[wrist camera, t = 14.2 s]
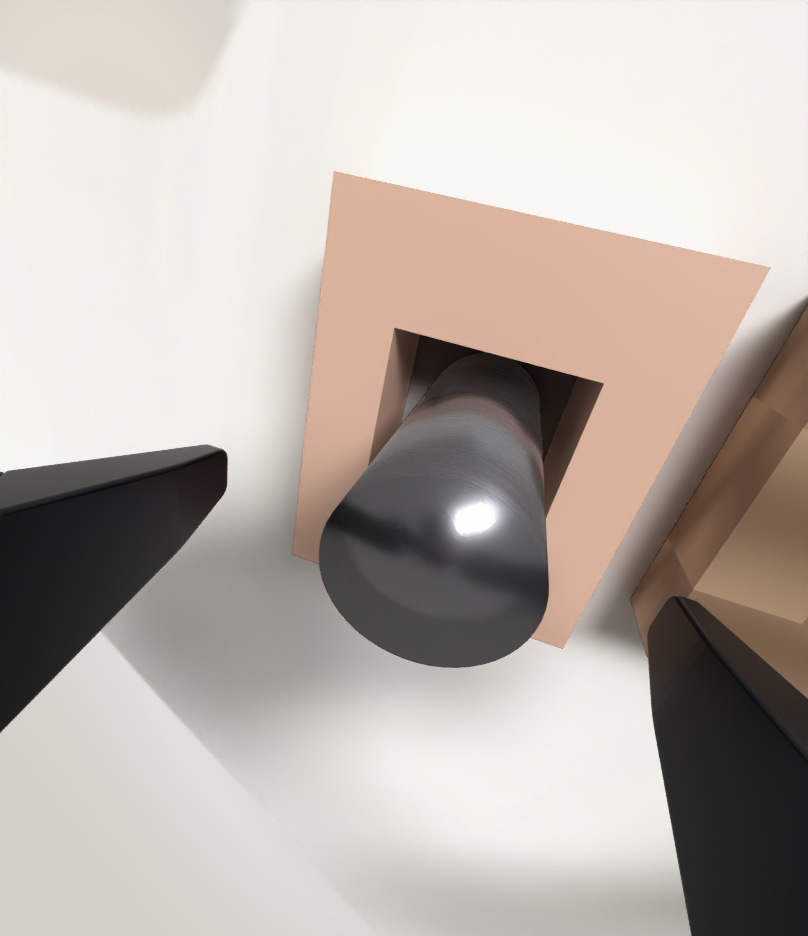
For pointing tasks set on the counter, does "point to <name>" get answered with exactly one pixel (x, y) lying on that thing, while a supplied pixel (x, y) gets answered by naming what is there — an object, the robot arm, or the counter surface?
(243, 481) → the counter surface
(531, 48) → the counter surface
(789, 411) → the socket block
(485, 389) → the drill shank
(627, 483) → the block
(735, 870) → the robot arm
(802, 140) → the counter surface
